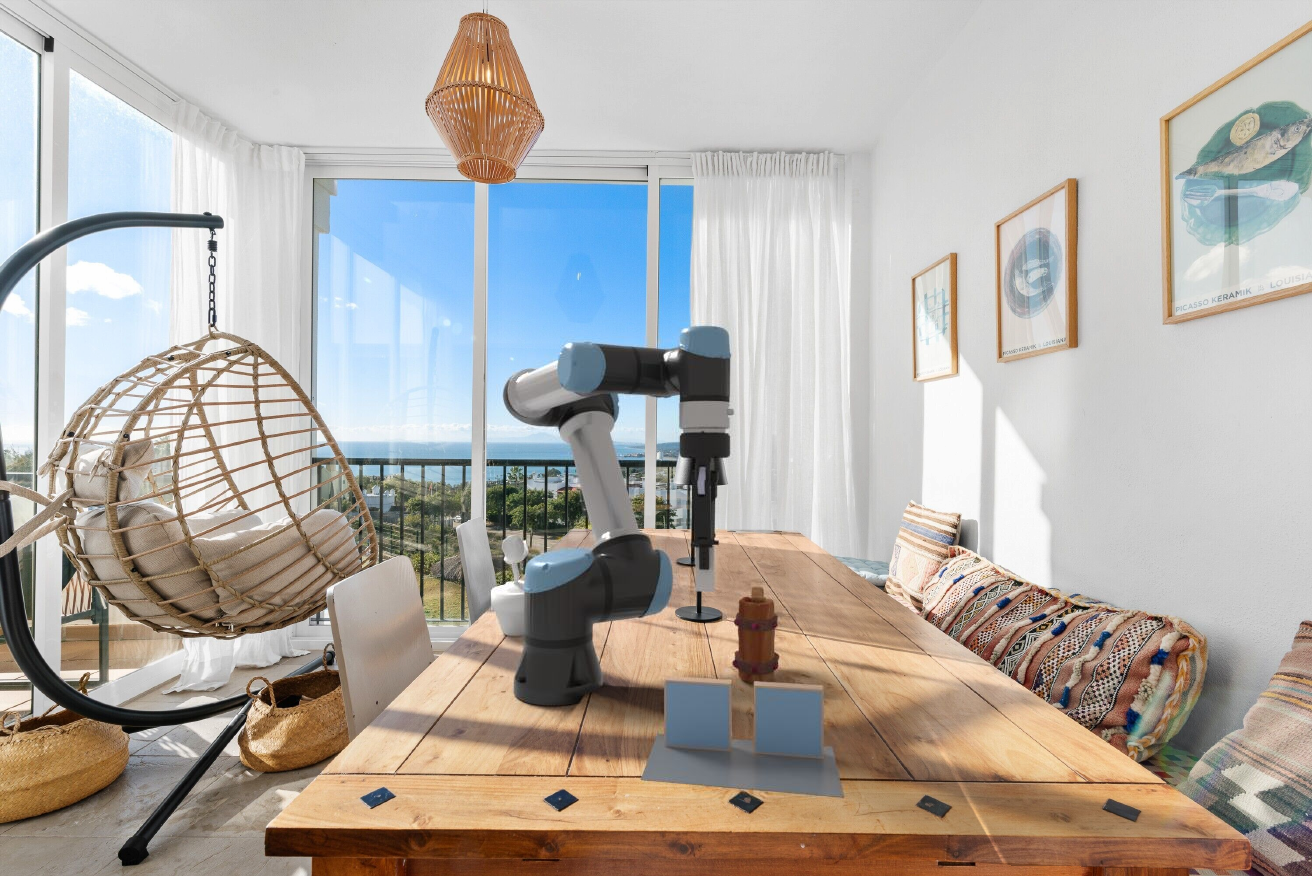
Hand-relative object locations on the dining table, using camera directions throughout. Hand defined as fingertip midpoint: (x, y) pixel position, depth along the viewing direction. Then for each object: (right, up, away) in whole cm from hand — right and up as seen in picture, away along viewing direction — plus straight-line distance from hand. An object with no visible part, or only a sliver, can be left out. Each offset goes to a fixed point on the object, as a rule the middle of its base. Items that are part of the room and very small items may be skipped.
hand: (705, 590), depth 99 cm
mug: (+11, -21, +23) cm, 33 cm away
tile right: (+10, -19, -11) cm, 24 cm away
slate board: (+4, -20, -13) cm, 25 cm away
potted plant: (-38, -21, +49) cm, 66 cm away
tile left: (-2, -19, -9) cm, 21 cm away
